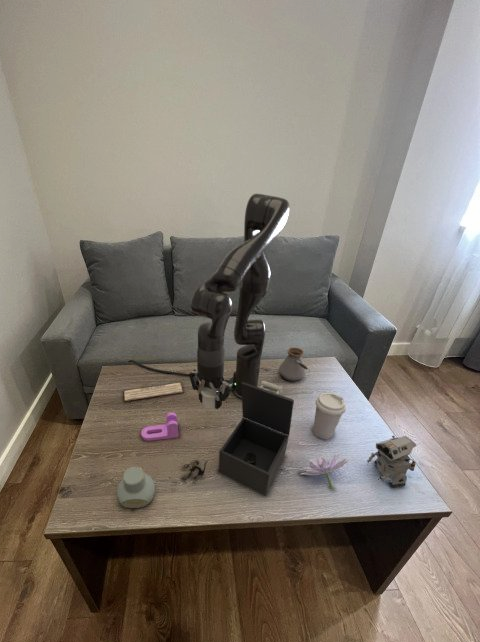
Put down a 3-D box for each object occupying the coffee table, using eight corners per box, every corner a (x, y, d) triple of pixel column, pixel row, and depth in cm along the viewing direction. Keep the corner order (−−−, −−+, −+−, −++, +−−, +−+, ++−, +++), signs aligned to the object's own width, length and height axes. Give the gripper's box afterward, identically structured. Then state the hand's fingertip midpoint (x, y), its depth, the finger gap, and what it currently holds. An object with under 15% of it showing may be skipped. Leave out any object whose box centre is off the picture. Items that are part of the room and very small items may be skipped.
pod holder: (252, 475, 98) (253, 464, 95) (241, 469, 99) (242, 458, 97) (256, 466, 100) (258, 455, 97) (246, 461, 102) (247, 450, 99)
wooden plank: (125, 402, 128) (124, 398, 127) (124, 391, 134) (124, 387, 133) (182, 393, 132) (182, 390, 131) (179, 383, 138) (179, 379, 137)
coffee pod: (197, 404, 98) (197, 391, 95) (209, 395, 101) (209, 382, 98) (211, 413, 94) (211, 399, 92) (223, 403, 98) (223, 390, 95)
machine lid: (293, 401, 86) (299, 388, 89) (240, 383, 94) (248, 371, 97) (288, 435, 98) (294, 423, 101) (242, 417, 106) (249, 405, 109)
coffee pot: (275, 368, 145) (279, 340, 137) (300, 368, 145) (306, 339, 137) (286, 399, 128) (291, 369, 119) (315, 399, 127) (322, 369, 119)
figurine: (356, 465, 101) (369, 432, 93) (390, 461, 102) (406, 428, 94) (373, 491, 93) (389, 457, 85) (409, 486, 94) (429, 453, 86)
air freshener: (116, 510, 90) (111, 489, 84) (120, 484, 97) (115, 463, 91) (155, 508, 90) (152, 487, 85) (156, 482, 97) (153, 461, 92)
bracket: (176, 425, 117) (176, 411, 113) (178, 437, 112) (177, 422, 108) (141, 430, 115) (139, 416, 112) (141, 441, 111) (139, 427, 107)
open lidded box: (265, 496, 93) (269, 475, 87) (218, 472, 100) (219, 451, 94) (284, 456, 104) (288, 435, 99) (241, 437, 111) (243, 417, 106)
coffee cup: (339, 444, 108) (350, 411, 100) (310, 440, 110) (318, 408, 101) (334, 424, 116) (344, 392, 108) (307, 420, 117) (314, 389, 109)
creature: (177, 479, 99) (199, 487, 95) (173, 467, 97) (195, 474, 92) (191, 461, 105) (211, 468, 100) (187, 449, 102) (208, 455, 98)
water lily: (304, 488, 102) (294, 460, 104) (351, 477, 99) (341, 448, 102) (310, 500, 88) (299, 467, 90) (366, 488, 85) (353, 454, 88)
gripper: (239, 359, 88) (236, 405, 97) (195, 345, 94) (196, 389, 104) (227, 373, 83) (225, 420, 92) (181, 357, 89) (184, 403, 98)
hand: (210, 404), depth 98 cm, fingers closed on coffee pod, 4 cm apart
